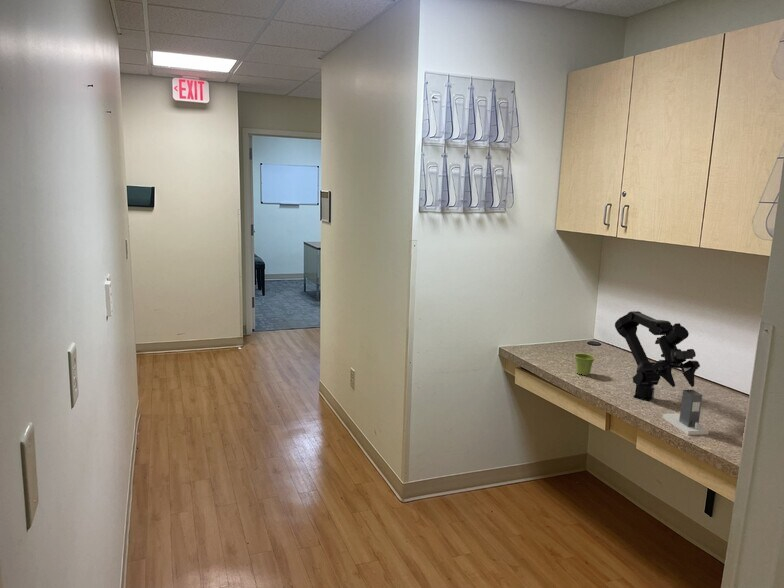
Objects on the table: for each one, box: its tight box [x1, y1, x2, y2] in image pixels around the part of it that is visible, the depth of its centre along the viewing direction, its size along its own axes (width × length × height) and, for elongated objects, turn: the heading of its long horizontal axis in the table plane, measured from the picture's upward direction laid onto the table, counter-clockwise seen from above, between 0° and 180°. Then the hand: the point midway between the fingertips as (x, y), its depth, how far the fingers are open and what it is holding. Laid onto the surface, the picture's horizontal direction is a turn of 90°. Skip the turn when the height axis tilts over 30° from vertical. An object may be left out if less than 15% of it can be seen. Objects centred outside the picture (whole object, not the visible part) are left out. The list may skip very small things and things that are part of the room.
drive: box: [679, 389, 703, 427], centre depth 214 cm, size 6×4×12 cm
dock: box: [662, 412, 710, 436], centre depth 217 cm, size 16×8×4 cm, turn 7°
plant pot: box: [573, 353, 596, 376], centre depth 275 cm, size 9×9×9 cm
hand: (683, 386), depth 221 cm, fingers open, 9 cm apart
